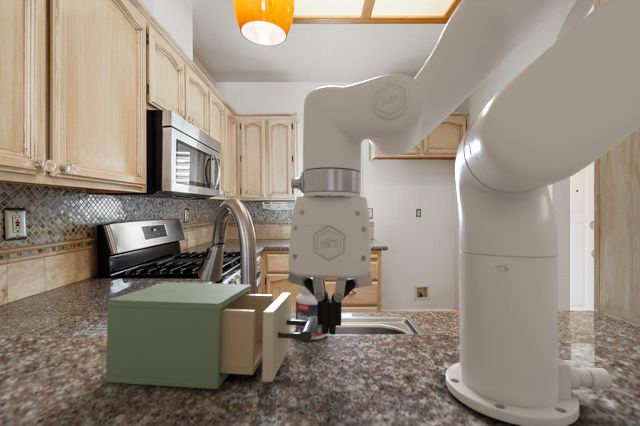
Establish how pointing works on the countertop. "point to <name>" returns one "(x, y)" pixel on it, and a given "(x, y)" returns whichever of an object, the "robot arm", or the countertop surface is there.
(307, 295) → the pill bottle
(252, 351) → the drawer
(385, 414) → the countertop surface
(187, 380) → the cabinet
